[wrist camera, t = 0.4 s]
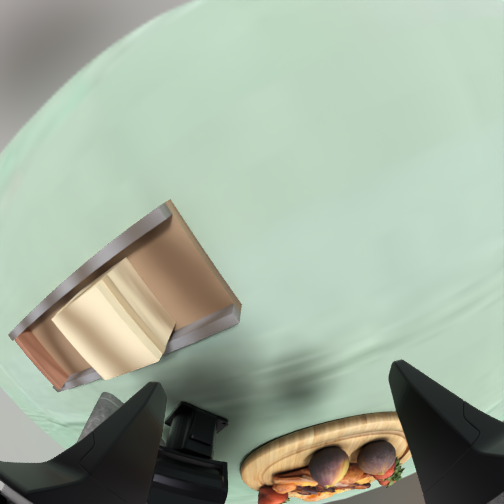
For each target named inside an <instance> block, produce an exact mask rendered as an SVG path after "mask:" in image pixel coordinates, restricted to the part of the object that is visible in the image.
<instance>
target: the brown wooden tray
mask: <svg viewBox="0 0 504 504" xmlns="http://www.w3.org/2000/svg"><path fill="white" fill-rule="evenodd" d="M125 257H127V259H128V260H129V262H130V263H131V264H132V266H133V267H134V269H135V270H136V271H137V273H138V274H139V275H140V277H141V278H142V280H143V281H144V282H145V284H146V285H147V286H148V288H149V289H150V290H151V291H152V293H153V294H154V295H155V297H156V298H157V299H158V301H159V302H160V303H161V304H162V306H163V307H164V308H165V309H166V311H167V312H168V313H169V314H170V316H171V317H172V318H173V319H174V320H175V322H176V324H175V326H174V328H173V331H172V333H171V335H170V337H169V340H168V342H167V344H166V349H165V351H164V354H162V355H165V354H167V353H170V352H172V351H175V350H177V349H180V348H182V347H185V346H187V345H190V344H192V343H194V342H197V341H199V340H201V339H204V338H206V337H208V336H211V335H213V334H215V333H218V332H220V331H222V330H225V329H227V328H229V327H231V326H233V325H236V324H238V323H239V321H240V313H241V305H242V304H241V303H240V301H239V300H238V299H237V297H236V296H235V294H234V293H233V291H232V290H231V289H230V287H229V286H228V284H227V283H226V281H225V280H224V279H223V277H222V276H221V274H220V273H219V271H218V270H217V269H216V267H215V266H214V264H213V263H212V261H211V260H210V258H209V257H208V255H207V254H206V252H205V251H204V249H203V248H202V247H201V245H200V244H199V242H198V241H197V239H196V238H195V236H194V235H193V233H192V232H191V230H190V229H189V227H188V226H187V224H186V223H185V221H184V220H183V218H182V216H181V215H180V213H179V212H178V210H177V209H176V207H175V206H174V204H173V203H172V201H171V200H168V201H167V202H165V203H164V204H162V205H160V206H159V207H157V208H156V209H155V210H153V211H152V212H150V213H149V214H148V215H146V216H145V217H143V218H142V219H141V220H139V221H138V222H137V223H135V224H134V225H133V226H131V227H130V228H129V229H127V230H126V231H125V232H123V233H122V234H121V235H119V236H118V237H117V238H116V239H114V240H113V241H112V242H110V243H109V244H108V245H107V246H105V247H104V248H103V249H102V250H100V251H99V252H98V253H97V254H95V255H94V256H93V257H92V258H91V259H89V260H88V261H87V262H86V263H84V264H83V265H82V266H81V267H80V268H79V269H77V270H76V271H75V272H74V273H73V274H72V275H70V276H69V277H68V278H67V279H66V280H65V281H64V282H62V283H61V284H60V285H59V286H58V287H57V288H56V289H55V290H54V291H52V292H51V293H50V294H49V295H48V296H47V297H46V298H45V299H44V300H43V301H42V302H41V303H40V304H39V305H38V306H36V307H35V308H34V309H33V310H32V311H31V312H30V313H29V314H28V315H27V316H26V317H25V318H24V319H23V320H22V321H21V322H20V323H19V324H18V325H17V326H16V327H15V328H14V329H13V331H12V332H11V333H10V334H9V337H10V338H11V339H12V341H13V340H14V339H15V338H16V337H17V338H16V339H15V341H16V343H17V344H18V345H19V346H20V348H21V349H22V350H23V351H24V353H25V354H26V355H27V356H28V358H29V359H30V360H31V361H32V362H33V363H34V365H35V366H36V367H37V368H38V369H39V370H40V371H41V373H42V374H43V375H44V376H45V377H46V378H47V379H48V380H49V381H50V382H51V383H52V384H53V385H54V386H53V388H54V389H55V390H56V391H57V392H60V391H64V390H67V389H70V388H73V387H76V386H79V385H82V384H85V383H88V382H91V381H94V380H97V379H100V378H102V377H101V376H100V375H99V374H98V373H97V371H96V370H95V369H94V368H93V367H92V366H91V365H90V364H89V363H88V362H87V361H86V360H85V359H84V358H83V357H82V356H81V354H80V353H79V352H78V351H77V350H76V349H75V348H74V346H73V345H72V344H71V343H70V342H69V341H68V339H67V338H66V337H65V336H64V335H63V333H62V332H61V331H60V330H59V328H58V327H57V326H56V325H55V323H54V322H53V321H52V320H51V319H52V318H53V317H54V316H55V315H56V313H57V312H58V311H59V310H60V309H61V308H63V307H64V306H65V305H66V304H67V303H68V302H69V301H70V300H71V299H72V298H73V297H74V296H75V295H76V294H77V293H78V292H80V291H81V290H82V289H83V288H85V287H86V286H87V285H89V284H90V283H91V282H93V281H94V280H95V279H97V278H98V277H99V276H101V275H102V274H103V273H105V272H106V271H107V270H109V269H110V268H111V267H113V266H114V265H116V264H117V263H118V262H120V261H121V260H123V259H124V258H125Z"/></svg>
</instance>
